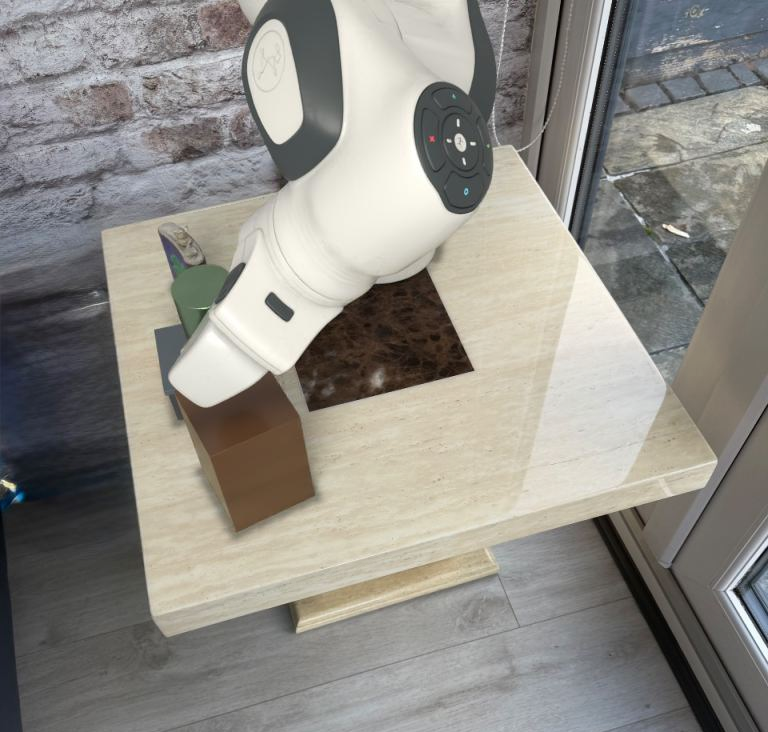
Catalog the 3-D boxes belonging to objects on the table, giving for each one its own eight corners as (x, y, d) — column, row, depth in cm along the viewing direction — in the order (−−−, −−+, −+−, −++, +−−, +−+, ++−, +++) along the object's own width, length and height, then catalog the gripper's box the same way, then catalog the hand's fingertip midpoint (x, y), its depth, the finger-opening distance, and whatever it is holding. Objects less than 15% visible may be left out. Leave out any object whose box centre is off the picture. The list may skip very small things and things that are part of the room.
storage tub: (165, 361, 99) (153, 329, 94) (219, 350, 99) (210, 317, 95) (175, 423, 94) (163, 391, 89) (232, 410, 94) (223, 378, 90)
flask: (171, 284, 106) (149, 213, 97) (192, 274, 107) (171, 203, 98) (207, 326, 102) (187, 256, 93) (228, 316, 103) (210, 245, 94)
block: (202, 470, 90) (173, 390, 79) (278, 437, 92) (260, 354, 81) (236, 532, 86) (209, 457, 75) (315, 496, 88) (300, 417, 77)
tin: (190, 364, 75) (161, 278, 67) (241, 343, 76) (219, 256, 68) (211, 401, 73) (184, 317, 64) (264, 379, 74) (244, 293, 65)
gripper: (323, 138, 64) (230, 220, 74) (206, 326, 53) (117, 391, 64) (381, 199, 66) (284, 270, 77) (280, 388, 56) (184, 441, 67)
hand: (207, 326), depth 70 cm, fingers closed on tin, 5 cm apart
